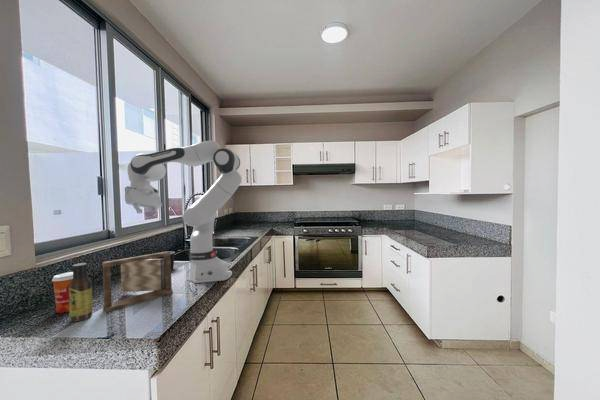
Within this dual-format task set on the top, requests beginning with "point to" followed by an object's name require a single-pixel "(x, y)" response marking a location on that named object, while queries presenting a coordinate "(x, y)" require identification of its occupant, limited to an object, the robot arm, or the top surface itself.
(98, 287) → the top surface
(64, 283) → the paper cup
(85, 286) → the sauce bottle
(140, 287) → the birch door
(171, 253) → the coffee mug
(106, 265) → the brown wooden frame
